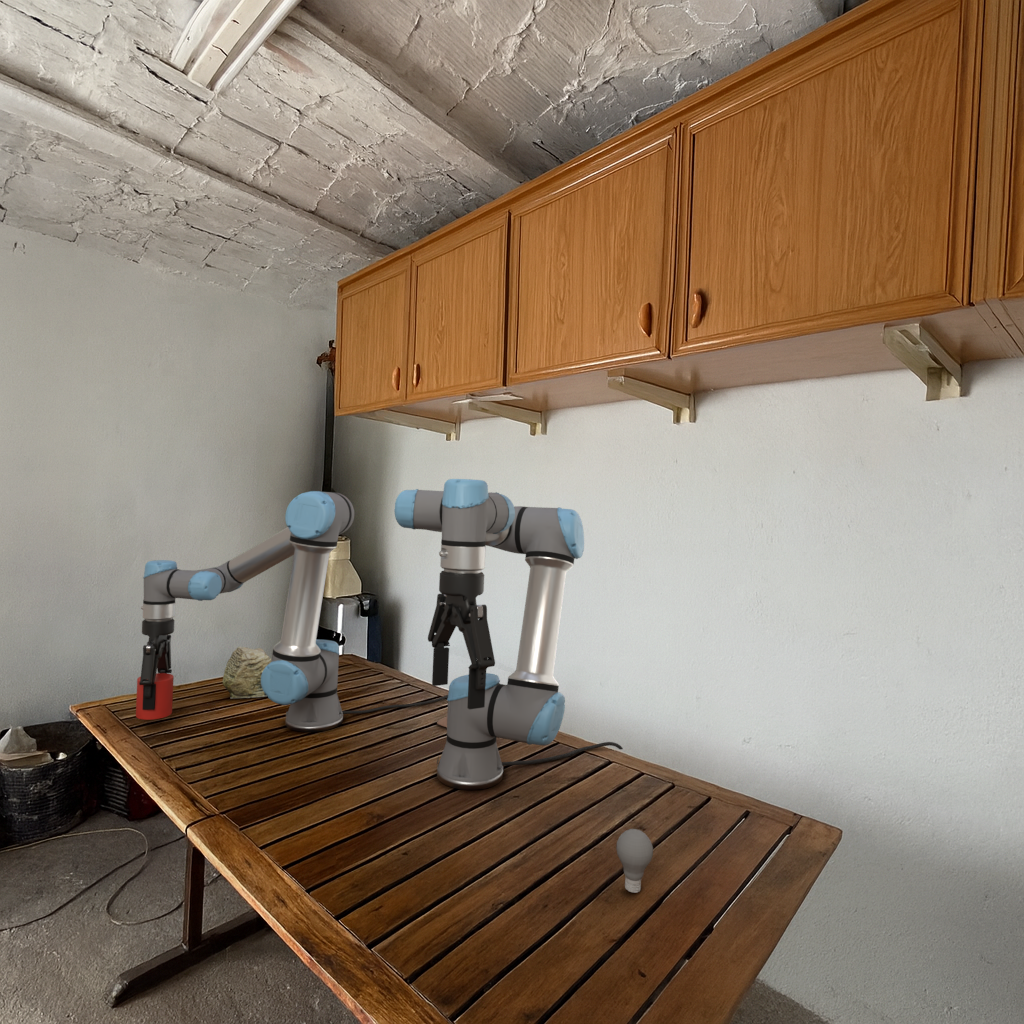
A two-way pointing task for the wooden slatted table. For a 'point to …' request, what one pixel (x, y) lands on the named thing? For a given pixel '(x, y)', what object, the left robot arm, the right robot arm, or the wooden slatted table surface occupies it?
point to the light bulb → (634, 857)
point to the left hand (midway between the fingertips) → (155, 703)
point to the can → (157, 698)
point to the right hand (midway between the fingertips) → (456, 695)
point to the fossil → (245, 672)
